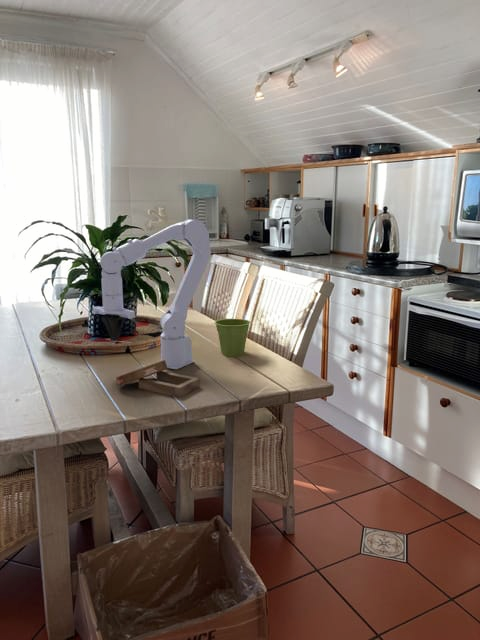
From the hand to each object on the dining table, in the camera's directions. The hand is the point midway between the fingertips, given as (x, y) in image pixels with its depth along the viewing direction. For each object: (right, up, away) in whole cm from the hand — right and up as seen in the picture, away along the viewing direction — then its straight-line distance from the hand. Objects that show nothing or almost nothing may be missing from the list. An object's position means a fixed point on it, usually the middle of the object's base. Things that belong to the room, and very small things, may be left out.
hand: (114, 340), depth 153 cm
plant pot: (+34, -6, +19) cm, 39 cm away
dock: (+17, -12, -12) cm, 24 cm away
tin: (+7, -10, -7) cm, 14 cm away
